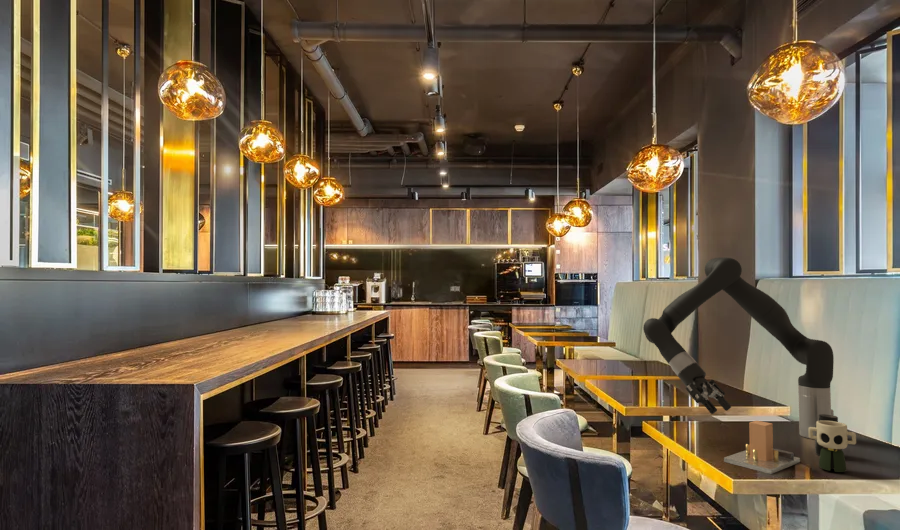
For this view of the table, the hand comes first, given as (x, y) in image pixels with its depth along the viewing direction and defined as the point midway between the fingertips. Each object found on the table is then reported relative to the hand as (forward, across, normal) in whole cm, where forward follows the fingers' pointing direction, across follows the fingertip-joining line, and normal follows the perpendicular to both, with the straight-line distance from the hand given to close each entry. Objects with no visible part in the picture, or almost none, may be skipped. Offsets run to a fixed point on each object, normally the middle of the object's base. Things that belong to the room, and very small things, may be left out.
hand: (722, 410), depth 170 cm
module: (+16, 0, 0) cm, 16 cm away
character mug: (+28, +8, -10) cm, 31 cm away
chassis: (+17, 0, +1) cm, 17 cm away
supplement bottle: (+24, +23, -6) cm, 34 cm away
